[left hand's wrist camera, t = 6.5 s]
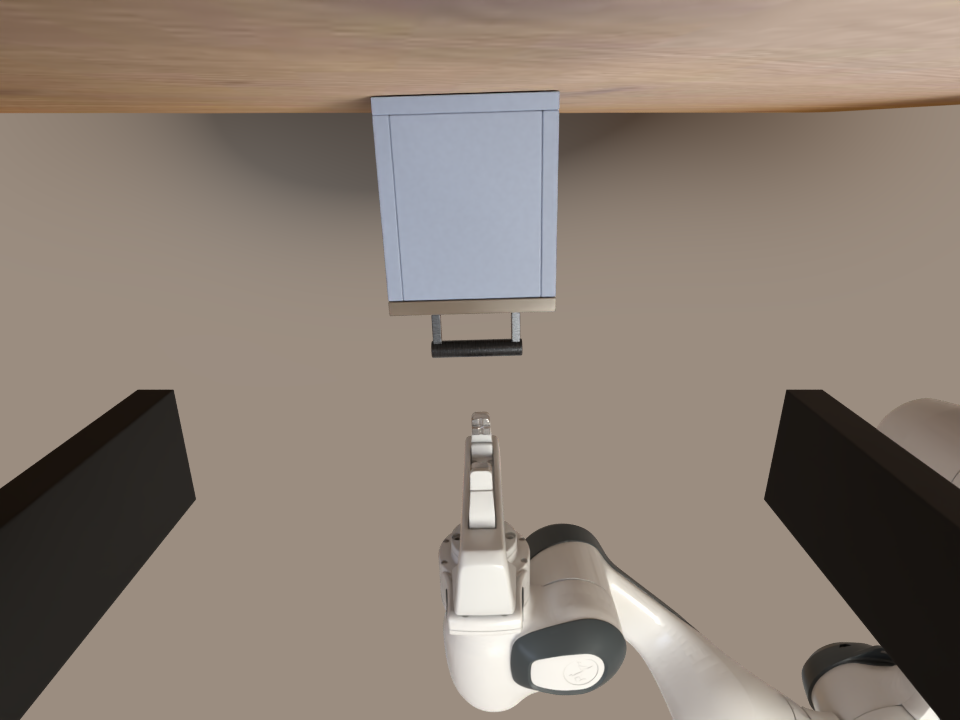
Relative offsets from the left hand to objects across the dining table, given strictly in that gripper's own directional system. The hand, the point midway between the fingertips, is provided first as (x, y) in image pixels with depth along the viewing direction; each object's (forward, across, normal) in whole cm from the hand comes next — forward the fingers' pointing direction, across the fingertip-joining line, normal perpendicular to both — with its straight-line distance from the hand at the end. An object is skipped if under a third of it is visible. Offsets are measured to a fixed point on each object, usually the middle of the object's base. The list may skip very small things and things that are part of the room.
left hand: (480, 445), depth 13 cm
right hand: (+34, 0, +18) cm, 39 cm away
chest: (+29, +1, -9) cm, 30 cm away
